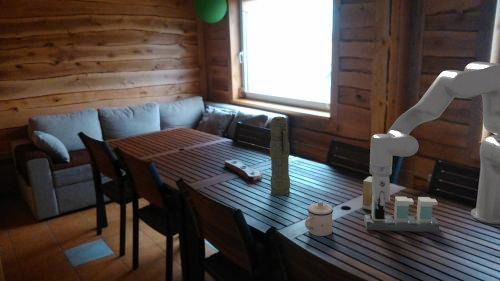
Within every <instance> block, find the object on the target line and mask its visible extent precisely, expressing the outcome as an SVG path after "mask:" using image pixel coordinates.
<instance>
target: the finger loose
mask: <svg viewBox="0 0 500 281" xmlns="http://www.w3.org/2000/svg"><path fill="white" fill-rule="evenodd" d="M378 200H379V201H380V199H378ZM389 202H391V197H390V196H389ZM389 202H388V203H389ZM385 203H387V202H386V200H385ZM379 204H380V203H378V205H379ZM375 208H376V201H375V200H374V197H373V194H372V210H371V214H372V215H371V216H372V219H373V221H384V219H375ZM385 215H386V213H385V214H384V218H385Z"/></svg>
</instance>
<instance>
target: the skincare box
mask: <svg viewBox="0 0 500 281" xmlns="http://www.w3.org/2000/svg"><path fill="white" fill-rule="evenodd" d="M362 182H363V183H362V209H365V210H369V211H372V176H367V177H366V178H365V179H363V181H362Z"/></svg>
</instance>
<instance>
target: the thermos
mask: <svg viewBox="0 0 500 281" xmlns="http://www.w3.org/2000/svg"><path fill="white" fill-rule="evenodd" d="M288 126H289V125H288V121H287V119H286V117H284V116H273V118H271V121H270V136H271V138H270V142H269V157H270V160H271V162H270V164H271V176H270V189H271V190H270V193H271V194H272V195H273V196H278V197H279V196H280V197H282V196H283V197H284V196H288V195H289V194H290V193H291V189H290V188H291V177H290V175H289V174H290V165H289V164H290V163H289V158H290V142H289V136H288V135H289V133H288V132H289V131H288V129H289V128H288Z"/></svg>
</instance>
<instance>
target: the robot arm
mask: <svg viewBox="0 0 500 281" xmlns="http://www.w3.org/2000/svg"><path fill="white" fill-rule="evenodd" d="M477 96H481V98H482V118H483V119H482V120H483V122H482V123H483V126H484V127H483V128H484V129H485V130H486V131H487V132H489V133H492V134H494V135H489V136H487V137H484V139H483V140H482V141H481V143H480V145H479V159H480V171H479V177H478V178H479V179H478V180H479V181H478V187H477V188H478V189H477V190H478V191H477V196H476V197H477V198H476V206H475V208H473V209H471V211H470V215H471V217H472V218H474V219H475V220H477V221H479V222H482V223H486V224H491V225H500V63H498V62H496V63H495V62H489V61H472V62H469V63H468V64H466V66H465V67H464V70H455V69H447V70H443V71H442V72H441V73H440V74H439V75H438V76H437V77H436V79H435V80H434V81H433V82H432V83H431V85H430V86H429V88H428V89H427V90H426V92H425V93H424V94H423V96H422V97H421V98H420V100H419V101H418V102H417V103H416V104H415V105H414V106H412V107H410V108H409V109H408V110H406V111H405V112H404V113H402V114H401V115H400V116H399V117H397V119H395V121H394V122H393V124H392V125H391V126H390V128H389V129H388V130H387V132H386V133H375V134H373V135H371V139H370V153H369V157H370V158H369V174H371V175H372V176H371V177H372V194H373V197H374V200H375V201H376V208H375V219H384V214H385V215H386V213H385V212H386V203H389V197H390V176H391V175H392V172H393V170H392V168H393V156H396V157H410V156H414V155H415V154H416V153H417V152H418V150H419V148H420V147H419V142H418V140H417V139H416V138H415V137H414V136H412V135H410V134H411V132H412V131H413V130H414V129H416V127H418V126H419V125H421V124H423V123H427V122H431V121H433V120H436V119H438V118H440V117H441V115H442V114H443V113H444V112H445V110H446V109H447V107H448V106H449V105H450V104H451V103H452V101H453V100H454V99H455V97H456V98H458V99H459V98H460V99H466V98H472V97H477ZM378 199H380V201H379V200H378ZM385 200H386V202H385ZM378 203H380V204H379V205H378Z"/></svg>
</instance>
